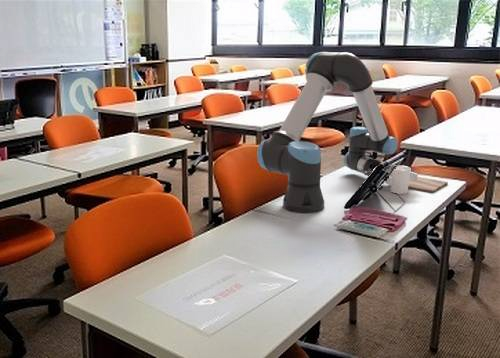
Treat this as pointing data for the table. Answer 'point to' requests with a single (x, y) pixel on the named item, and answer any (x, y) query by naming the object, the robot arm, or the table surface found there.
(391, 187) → the white cup
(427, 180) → the walnut board
